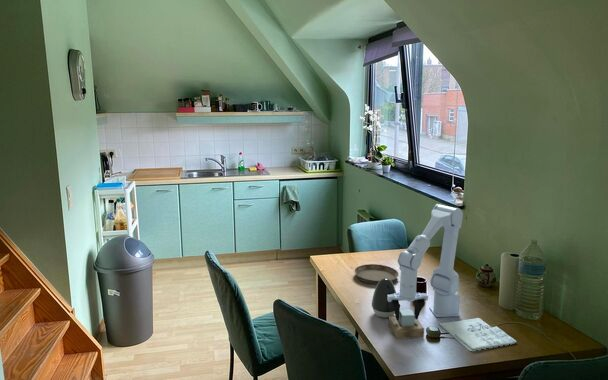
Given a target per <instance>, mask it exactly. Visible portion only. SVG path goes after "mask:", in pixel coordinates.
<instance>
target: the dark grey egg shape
mask: <svg viewBox="0 0 608 380" xmlns="http://www.w3.org/2000/svg"><path fill="white" fill-rule="evenodd" d="M395 293H397V291H396V287H395V285H394V283H393V282H392V281H391V280H390V279H387V278H383V279H381V280H380V281H379V282H378V284H377V285H376V286H375V287H374V291H373V295H372V301H371V307H372V310H373V312H374V313H375V315H377V316H378V317H379V318H384V319H385V318H386V319H387V318H389V316H395V311H394V308H393V305H392V303H391V302H389V301H388V300H387V295H390V294H395Z"/></svg>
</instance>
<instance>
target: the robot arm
mask: <svg viewBox="0 0 608 380" xmlns="http://www.w3.org/2000/svg"><path fill="white" fill-rule="evenodd" d="M430 212H431V213H430V216H431V217H430V220H429V221H428V223H427V225H426V226H425V228H424V230H423V232H422V233H421V234H418V235H416V236H415V238H414V239H413V241H412V242H411V243H410V245H409V246H408V247H407V248H406V250H403V251H401V252H400V253H399V254H398V258H397V263H398V266H399V268H398V269H399V270H400V285H399V292H396V293H395V294H390V295H387V300H388V301H389V302H391V303H392V305H393V308H394V311H395V314H394V316H395V318H396V319H397V320H399V310H401V304H400V301H407V302H409V303H410V302H411V303H412V302H414V311H413V313H414V315H415V319H418V320H419V316H420V313H421V311H422V309H423V308H424V307H425V305H426V302H425V301H428V300H429V295H428V294H427V293H426V292H425V293H424V292H422V293H421V292H417V282H418V281H417V280H418V279H417V278H418V269H419V268H420V267H421V264H422V262H423V259H424V254H425V253H426V251H428V249H429V247H430V246H431V241H430V240H431V239H432V238H433V237H434V236H435V235H436V233H437V232H439V230H440V229H441V228H444V231H443V232H444V233H443V237H442V238H443V239H442V246H441V253H440V260H439V266H438V267H436V268H435V269H433V270H432V275H431V277H430V280H429V284H430V287H431V288H432V291H434V293H433V295H434V296H433V306H429V309H430V311H431V312H432V313H433V314H434V315H435V317H436V318H449V317H451V318H452V317H460V315H461V314H460V304H461V298H460V294H459V291H458V290H459V288H460V283H459V280H460V278H459V277H460V276H459V274H458V273H457V272H456V271H455V270H454V264H455V258H456V252H457V251H456V250H457V243H458V238H459V230H460V229H461V228H462V225H463V224H462V223H463V217H464V212H463V211H462V209H461V208H459V207H453V206H448V205H443V204H440V203H436V204H435V205H434V207H433V208H432V210H431V211H430Z"/></svg>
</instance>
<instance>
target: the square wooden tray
mask: <svg viewBox="0 0 608 380" xmlns="http://www.w3.org/2000/svg"><path fill="white" fill-rule="evenodd" d="M388 318H389V320H388V325H389V329H391V331H392V333H393V336H394V337H395V339H413V338H414V339H418V338H424V337H425V327H424V326H423V324H422V323H421V321H420V319H419V318H418V319H415V321H414V326H403V327H401V326H400V324H399V320H397V319H396V318H395V315H393V316H389V317H388Z"/></svg>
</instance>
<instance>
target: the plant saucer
mask: <svg viewBox="0 0 608 380" xmlns="http://www.w3.org/2000/svg"><path fill="white" fill-rule="evenodd" d="M354 273H355V275H356V277H357V278H358V279H359V280H360V281H362V282H364V283H366V284H370V285H376V286H377V284H378V282H379V281H380V280H381V279H383V278H387V279H390V280H391V281H392V283H393V282H394V281H396V280H397V279H398V277H399V271H398V270H396V269H395V268H393V267H391V266H388V265H383V264H376V263H375V264H374V263H372V264H371V263H369V264H362V265H359V266H357V267H355V269H354Z"/></svg>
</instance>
